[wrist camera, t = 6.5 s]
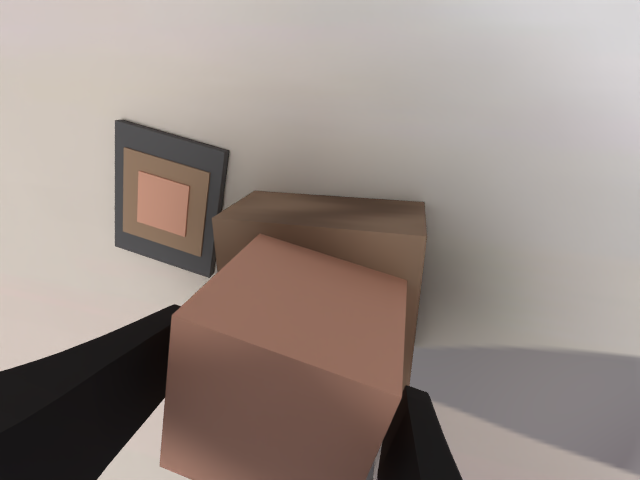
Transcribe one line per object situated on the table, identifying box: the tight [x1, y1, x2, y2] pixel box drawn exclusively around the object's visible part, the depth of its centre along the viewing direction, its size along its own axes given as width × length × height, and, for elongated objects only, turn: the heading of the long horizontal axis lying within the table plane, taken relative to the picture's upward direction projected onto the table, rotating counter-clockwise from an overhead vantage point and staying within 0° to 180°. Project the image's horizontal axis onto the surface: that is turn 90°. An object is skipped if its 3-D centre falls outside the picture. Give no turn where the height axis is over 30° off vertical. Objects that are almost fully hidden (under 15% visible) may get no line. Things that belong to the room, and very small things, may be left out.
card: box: [115, 120, 229, 278], centre depth 17 cm, size 5×6×1 cm
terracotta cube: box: [160, 234, 407, 480], centre depth 11 cm, size 5×5×5 cm
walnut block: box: [212, 191, 427, 392], centre depth 15 cm, size 7×7×4 cm
